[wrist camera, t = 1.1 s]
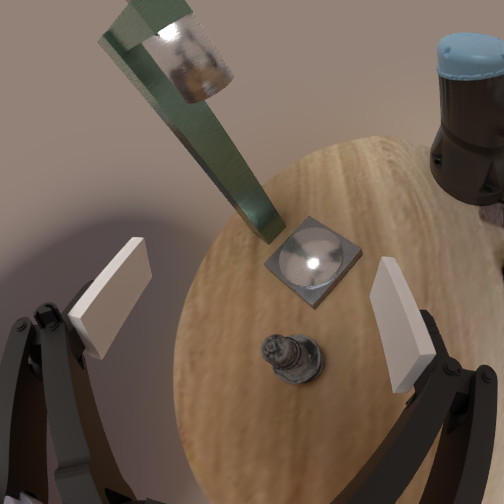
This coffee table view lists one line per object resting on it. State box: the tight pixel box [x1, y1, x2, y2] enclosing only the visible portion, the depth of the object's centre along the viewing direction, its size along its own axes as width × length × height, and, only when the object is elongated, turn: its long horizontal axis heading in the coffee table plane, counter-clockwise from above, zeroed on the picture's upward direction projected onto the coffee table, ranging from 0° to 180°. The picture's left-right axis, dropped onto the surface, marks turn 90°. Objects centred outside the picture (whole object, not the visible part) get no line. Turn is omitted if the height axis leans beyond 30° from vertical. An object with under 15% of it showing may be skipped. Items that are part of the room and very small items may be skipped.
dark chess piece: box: [261, 335, 324, 384], centre depth 28 cm, size 6×6×12 cm
